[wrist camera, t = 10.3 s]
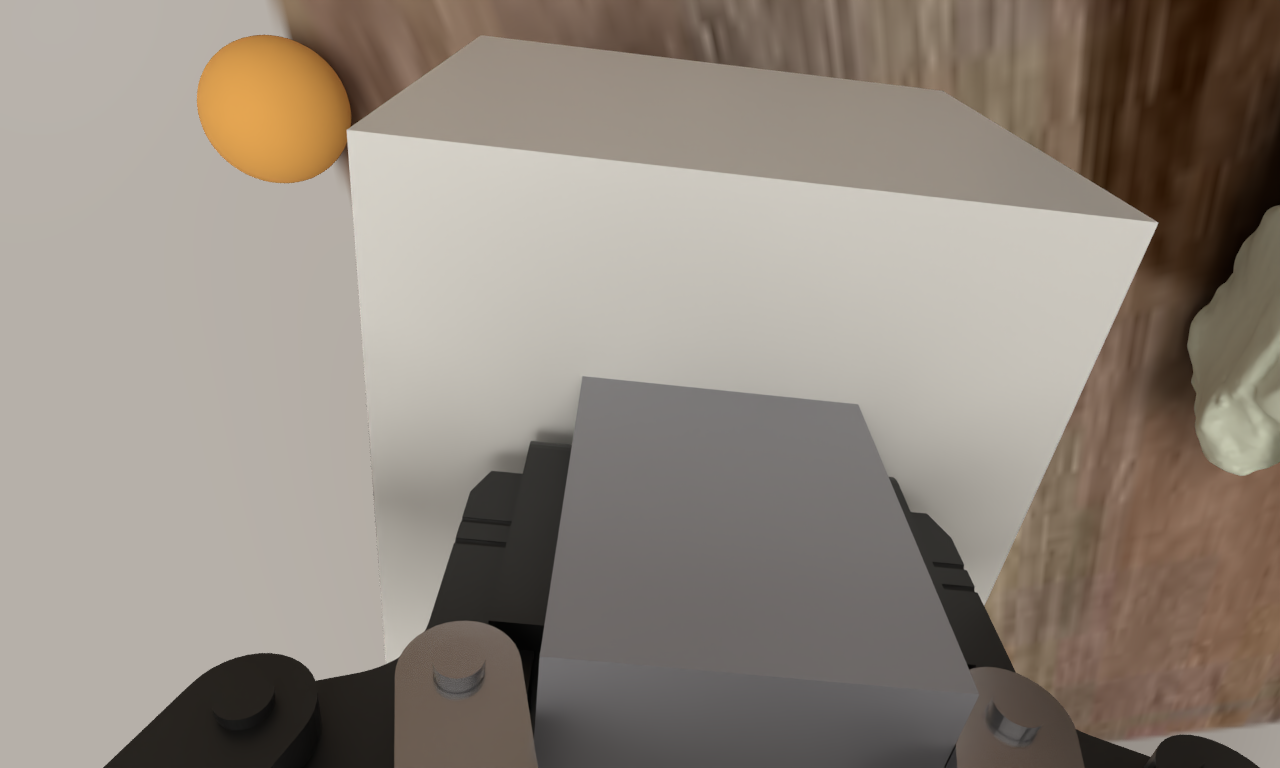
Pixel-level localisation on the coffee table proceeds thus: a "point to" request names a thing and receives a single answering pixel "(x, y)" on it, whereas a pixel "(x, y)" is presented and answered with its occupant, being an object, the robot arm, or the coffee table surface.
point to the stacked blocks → (722, 381)
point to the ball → (273, 109)
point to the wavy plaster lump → (1241, 358)
